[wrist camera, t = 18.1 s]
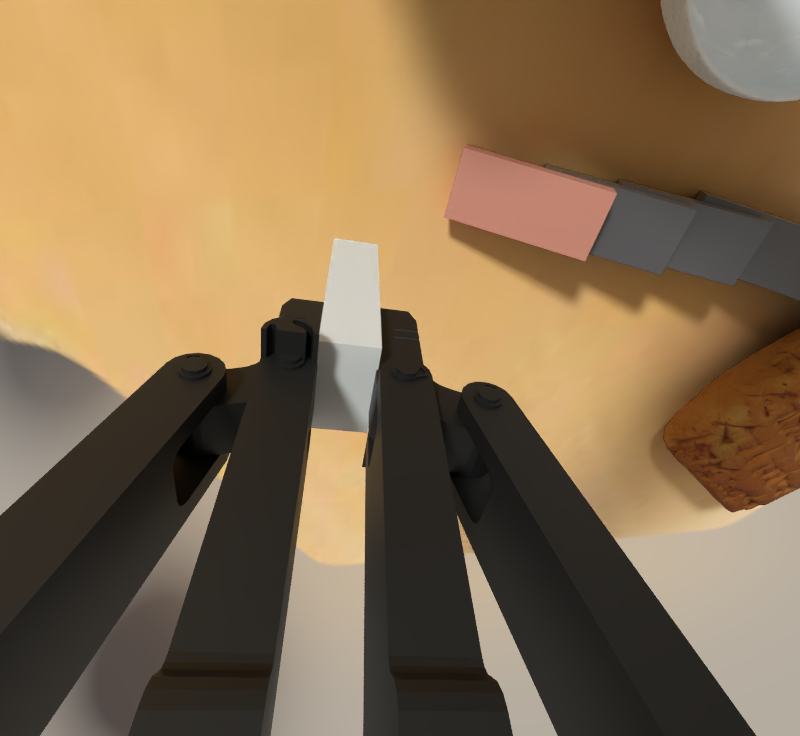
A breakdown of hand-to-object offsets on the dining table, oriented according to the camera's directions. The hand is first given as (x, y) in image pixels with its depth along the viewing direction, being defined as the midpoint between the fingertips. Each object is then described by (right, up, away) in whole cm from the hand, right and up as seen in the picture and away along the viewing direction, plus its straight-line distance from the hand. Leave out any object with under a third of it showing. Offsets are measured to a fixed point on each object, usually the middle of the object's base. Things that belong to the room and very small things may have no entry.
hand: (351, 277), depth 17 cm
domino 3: (+18, +9, +21) cm, 29 cm away
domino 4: (+25, +9, +22) cm, 34 cm away
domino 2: (+12, +10, +20) cm, 25 cm away
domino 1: (+6, +11, +19) cm, 22 cm away
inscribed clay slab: (+40, -5, +34) cm, 53 cm away
